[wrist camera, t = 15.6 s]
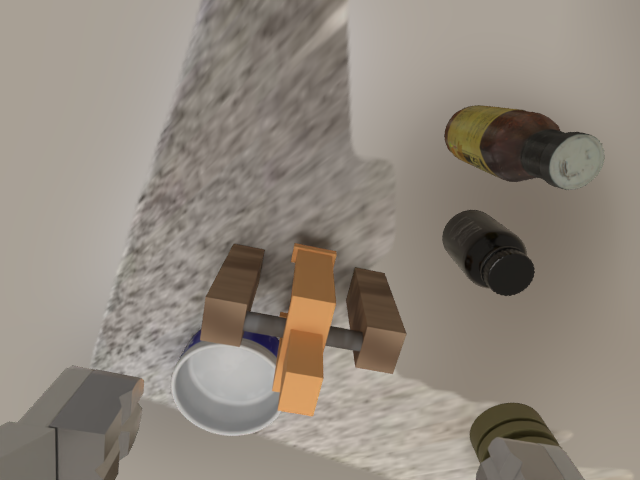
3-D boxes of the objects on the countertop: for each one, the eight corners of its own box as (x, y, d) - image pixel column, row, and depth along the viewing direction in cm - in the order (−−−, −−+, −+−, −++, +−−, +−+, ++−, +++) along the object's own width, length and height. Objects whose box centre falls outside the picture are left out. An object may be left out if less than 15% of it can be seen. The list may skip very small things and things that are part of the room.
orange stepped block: (294, 243, 47) (282, 330, 31) (336, 251, 48) (346, 341, 31) (277, 325, 51) (258, 442, 35) (316, 332, 52) (315, 450, 35)
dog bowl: (252, 420, 62) (245, 453, 57) (164, 372, 59) (148, 402, 53) (310, 354, 58) (310, 383, 52) (219, 298, 55) (208, 322, 49)
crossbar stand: (233, 243, 52) (205, 296, 39) (384, 273, 53) (406, 333, 40) (228, 278, 53) (199, 340, 40) (374, 305, 55) (392, 373, 42)
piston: (610, 498, 52) (543, 546, 55) (557, 425, 63) (505, 468, 66) (549, 460, 49) (484, 512, 52) (506, 390, 61) (454, 437, 64)
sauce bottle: (436, 155, 48) (512, 199, 29) (450, 100, 46) (541, 110, 27) (489, 163, 48) (597, 211, 30) (505, 109, 46) (633, 124, 28)
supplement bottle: (445, 264, 53) (480, 312, 42) (436, 216, 51) (471, 253, 39) (498, 251, 52) (547, 296, 41) (491, 202, 50) (542, 235, 39)
